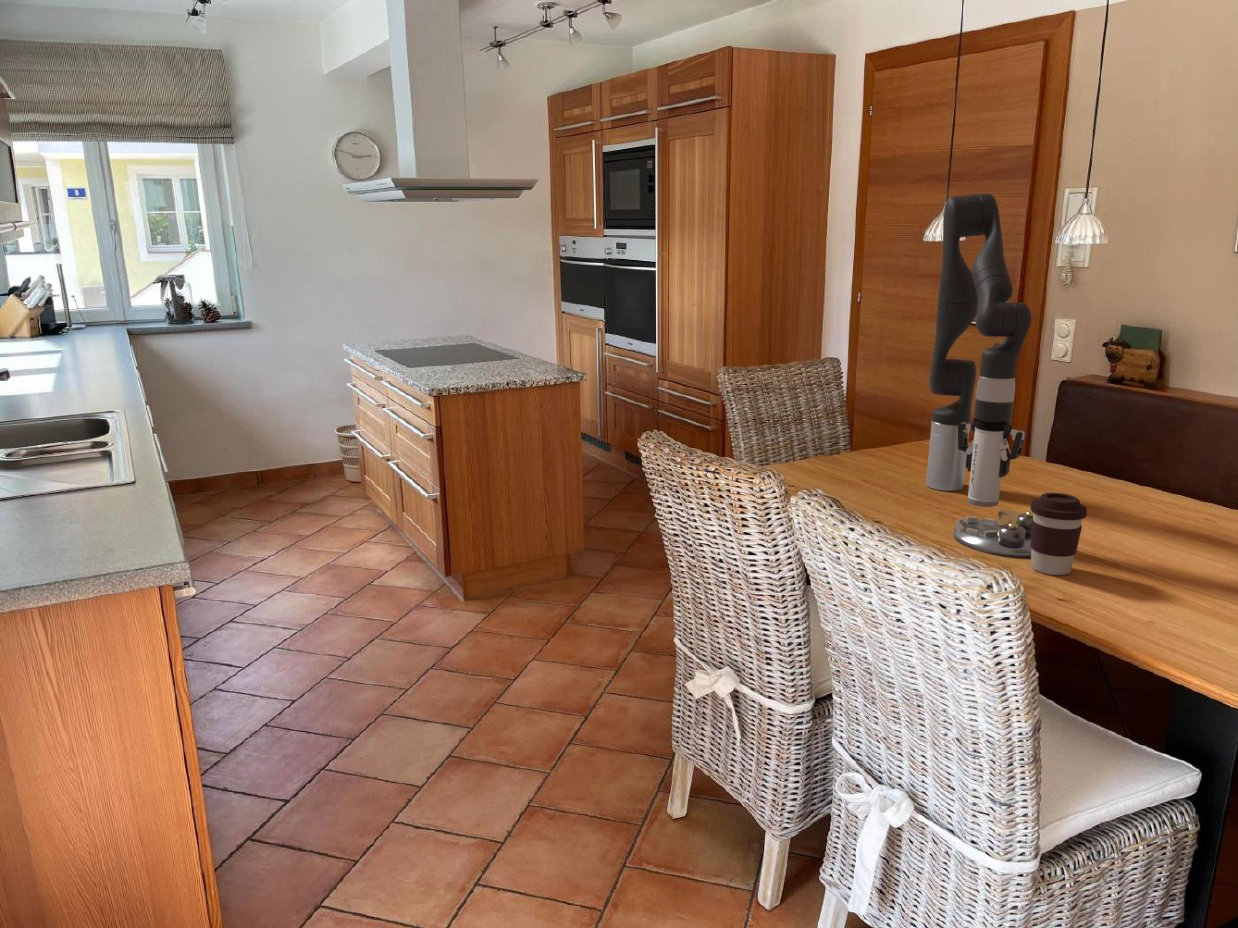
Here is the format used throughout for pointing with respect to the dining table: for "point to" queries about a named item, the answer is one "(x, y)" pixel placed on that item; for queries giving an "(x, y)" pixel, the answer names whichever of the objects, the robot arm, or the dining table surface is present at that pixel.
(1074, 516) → the coffee cup
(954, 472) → the robot arm
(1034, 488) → the dining table surface
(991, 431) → the travel mug
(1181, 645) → the dining table surface
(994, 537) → the carrier plate
